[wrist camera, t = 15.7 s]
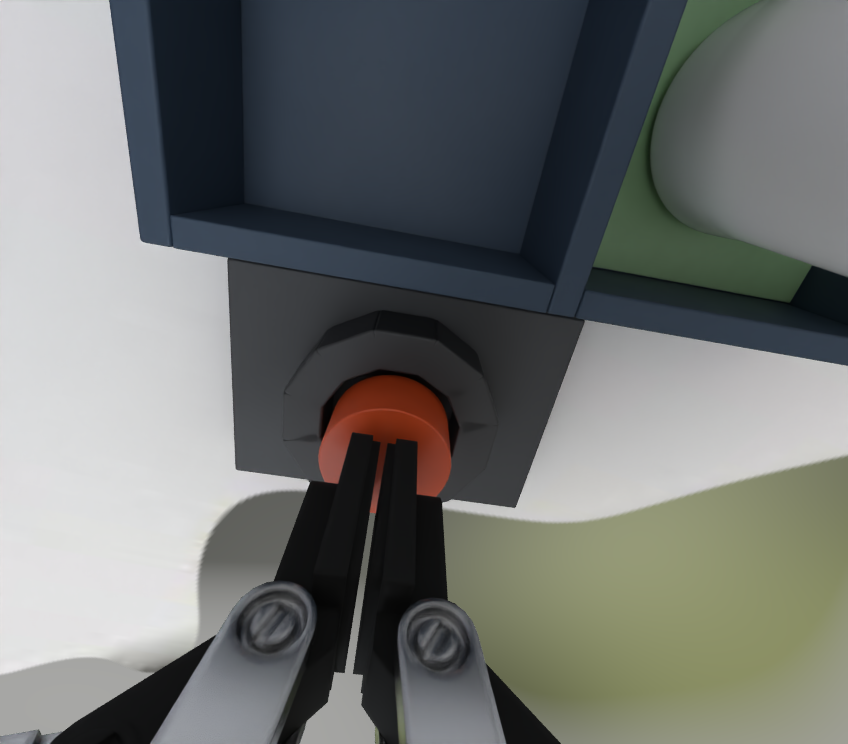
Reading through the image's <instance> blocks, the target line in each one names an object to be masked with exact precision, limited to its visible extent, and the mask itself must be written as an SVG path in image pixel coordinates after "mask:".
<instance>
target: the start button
mask: <svg viewBox="0 0 848 744" xmlns="http://www.w3.org/2000/svg"><path fill="white" fill-rule="evenodd" d="M352 432H355V433H362V434H369V435H373V441H378V442H381V444H380V451H379V457H378V463H377V470H376V476H375V482H374V489H373V495H372V501H371V508H370V512H371V513H376V509H377V503H378V497H379V491H380V485H381V479H382V473H383V467H384V461H385V455H386V449H387V444H388V443H392V444H396V439H404V440H411V441H417V442H418V452H417V494H419V495H426V496H434V497H436V496H437V495H438V494H439V493H440V492H441V490H442V489H443V488H444V486H445V484H446V482H447V481H448V478H449V475H450V471H451V451H450V440H449V430H448V420H447V415H446V412H445V409H444V407H443V405H442V403H441V402H440V400H439V399H438V397H437V396H436V395H435V394H434V393H433V392H432V391H431V390H430V389H428V388H427V387H426V386H424V385H423V384H421V383H419V382H417V381H415V380H413V379H410V378H407V377H402V376H397V375H380V376H374V377H370V378H367V379H364V380H362V381H359V382H358V383H356V384H354V385H353V386H351V387H350V388H349V389H347V390H346V391H345V392H344V393H343V395H342V396H341V397H340V399H339V400H338V402H337V404H336V406H335V409H334V411H333V414H332V416H331V419H330V422H329V424H328V427H327V429H326V432H325V434H324V437H323V440H322V442H321V445H320V448H319V454H318V462H319V468H320V472H321V475H322V477H323V479H324V481H325V482H328V483H336V484H338V482H339V478H340V475H341V471H342V467H343V464H344V460H345V456H346V453H347V449H348V446H349V442H350V438H351V435H352Z"/></svg>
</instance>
